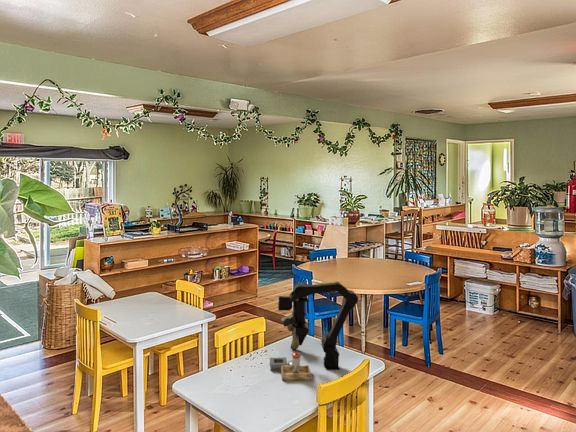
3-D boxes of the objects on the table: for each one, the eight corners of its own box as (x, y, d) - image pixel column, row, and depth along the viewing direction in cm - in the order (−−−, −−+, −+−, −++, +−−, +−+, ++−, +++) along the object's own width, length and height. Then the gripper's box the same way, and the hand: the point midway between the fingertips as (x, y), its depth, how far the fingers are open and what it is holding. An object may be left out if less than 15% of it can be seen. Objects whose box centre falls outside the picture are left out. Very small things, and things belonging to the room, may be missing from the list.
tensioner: (298, 363, 220) (298, 357, 220) (300, 370, 212) (300, 364, 212) (269, 363, 219) (269, 357, 219) (270, 370, 211) (270, 364, 211)
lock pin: (299, 372, 208) (300, 352, 207) (300, 376, 204) (300, 355, 203) (291, 372, 208) (291, 352, 207) (291, 376, 204) (292, 355, 203)
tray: (308, 371, 211) (308, 365, 211) (311, 380, 202) (311, 373, 202) (280, 371, 210) (281, 365, 210) (282, 380, 201) (282, 374, 201)
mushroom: (296, 354, 231) (296, 326, 229) (282, 350, 236) (283, 323, 234) (306, 349, 238) (307, 322, 237) (293, 345, 243) (294, 318, 242)
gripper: (280, 305, 221) (280, 335, 222) (285, 316, 203) (284, 349, 204) (302, 304, 222) (302, 334, 224) (309, 316, 204) (308, 348, 205)
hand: (298, 341), depth 214 cm, fingers open, 9 cm apart
